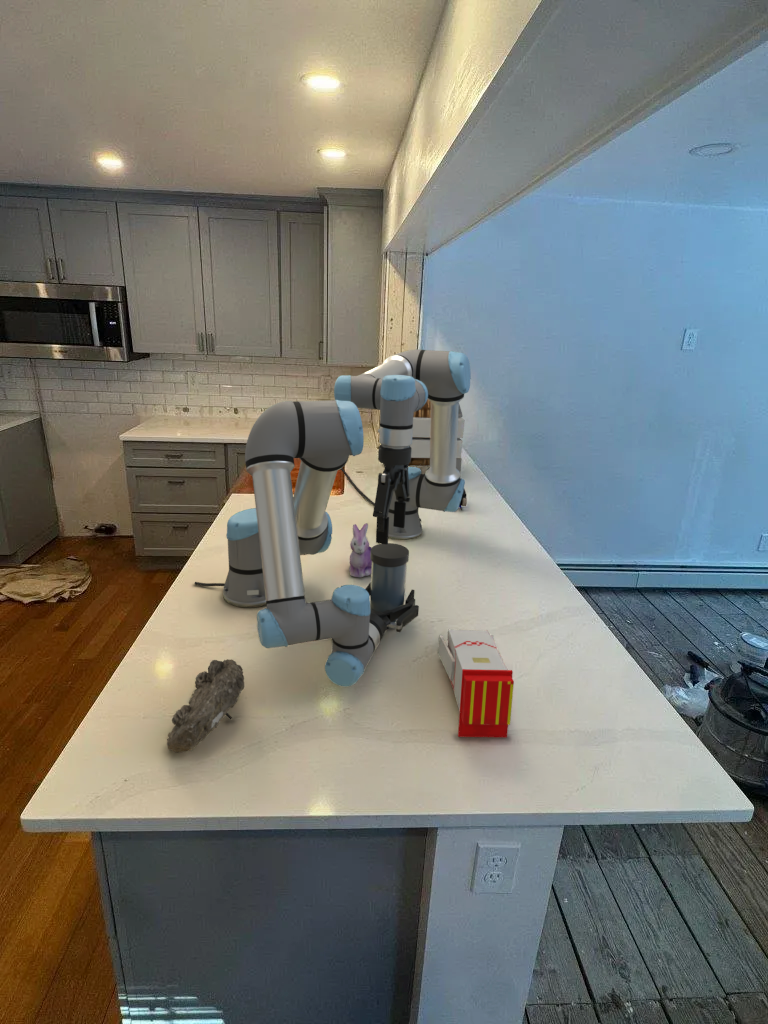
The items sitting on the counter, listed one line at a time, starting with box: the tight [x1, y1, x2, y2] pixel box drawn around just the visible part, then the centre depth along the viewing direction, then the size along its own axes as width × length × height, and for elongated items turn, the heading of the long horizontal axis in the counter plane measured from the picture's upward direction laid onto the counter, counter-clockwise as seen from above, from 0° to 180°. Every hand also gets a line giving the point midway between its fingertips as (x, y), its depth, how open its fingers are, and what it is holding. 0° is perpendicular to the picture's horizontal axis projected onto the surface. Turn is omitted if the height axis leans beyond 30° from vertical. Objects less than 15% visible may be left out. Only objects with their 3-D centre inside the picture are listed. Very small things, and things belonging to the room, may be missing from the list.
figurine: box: [348, 522, 372, 578], centre depth 167 cm, size 9×10×15 cm
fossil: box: [166, 658, 245, 754], centre depth 106 cm, size 22×10×15 cm
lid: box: [370, 542, 410, 567], centre depth 138 cm, size 9×9×2 cm
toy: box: [437, 628, 515, 738], centre depth 117 cm, size 12×13×30 cm
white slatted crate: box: [383, 399, 465, 475], centre depth 268 cm, size 34×33×41 cm
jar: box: [370, 562, 408, 630], centre depth 141 cm, size 9×9×19 cm
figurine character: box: [458, 488, 468, 511], centre depth 230 cm, size 7×8×15 cm
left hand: (391, 590), depth 146 cm, fingers open, 10 cm apart
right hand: (390, 534), depth 137 cm, fingers open, 11 cm apart
